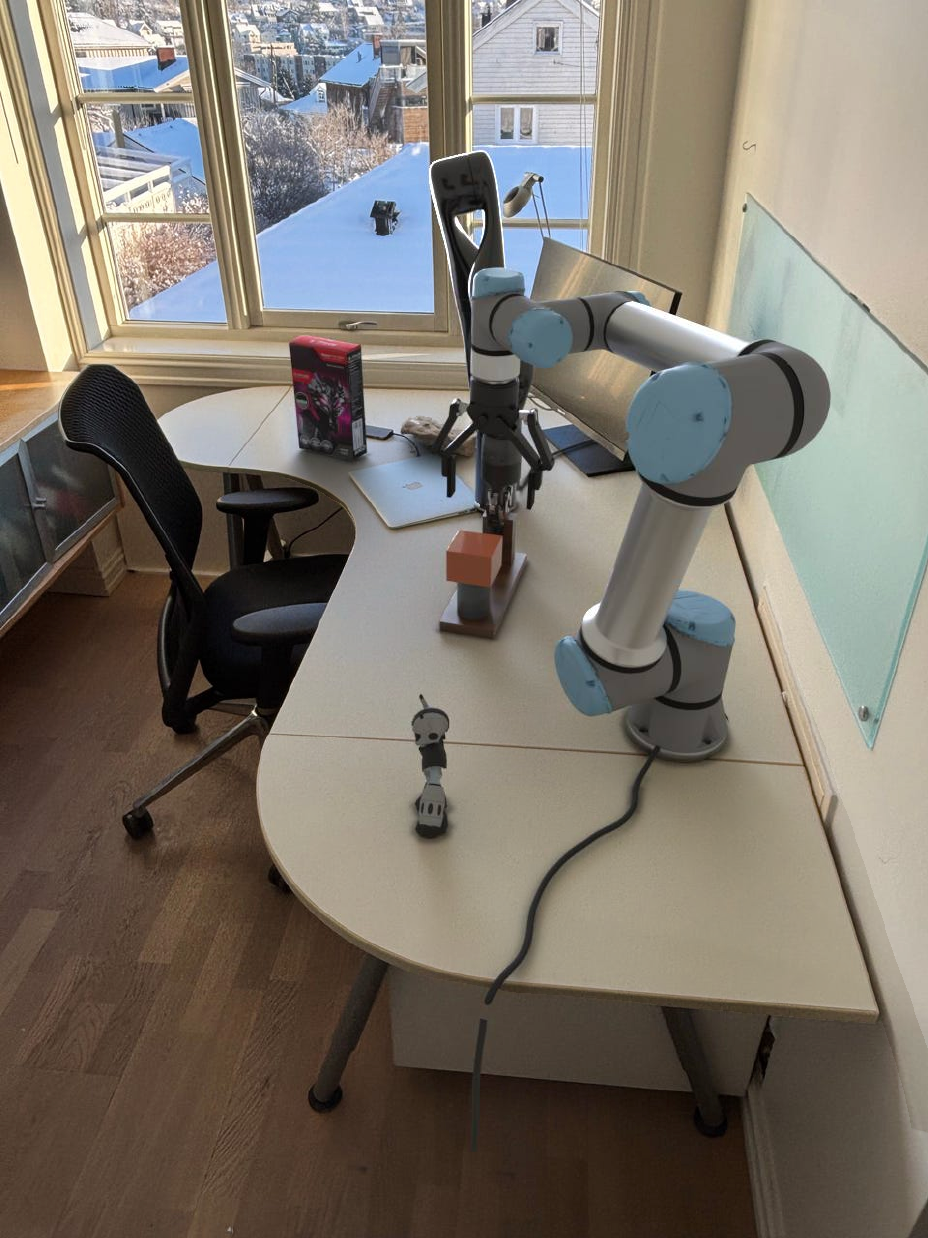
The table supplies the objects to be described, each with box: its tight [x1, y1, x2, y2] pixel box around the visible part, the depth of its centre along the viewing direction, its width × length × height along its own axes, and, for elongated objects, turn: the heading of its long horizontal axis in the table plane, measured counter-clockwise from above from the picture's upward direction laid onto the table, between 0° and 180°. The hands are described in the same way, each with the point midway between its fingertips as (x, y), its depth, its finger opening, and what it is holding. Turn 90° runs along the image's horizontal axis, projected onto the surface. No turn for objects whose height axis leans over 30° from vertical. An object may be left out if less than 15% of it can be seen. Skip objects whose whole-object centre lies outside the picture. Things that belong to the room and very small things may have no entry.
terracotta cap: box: [445, 529, 502, 587], centre depth 161 cm, size 8×8×6 cm
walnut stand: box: [439, 511, 528, 640], centre depth 172 cm, size 28×10×12 cm, turn 165°
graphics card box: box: [288, 334, 368, 462], centre depth 223 cm, size 17×7×27 cm, turn 62°
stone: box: [400, 415, 476, 457], centre depth 232 cm, size 21×15×6 cm
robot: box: [410, 693, 450, 839], centre depth 122 cm, size 20×5×20 cm, turn 3°
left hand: (498, 537), depth 180 cm, fingers closed on walnut stand, 3 cm apart
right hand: (490, 500), depth 153 cm, fingers open, 13 cm apart
